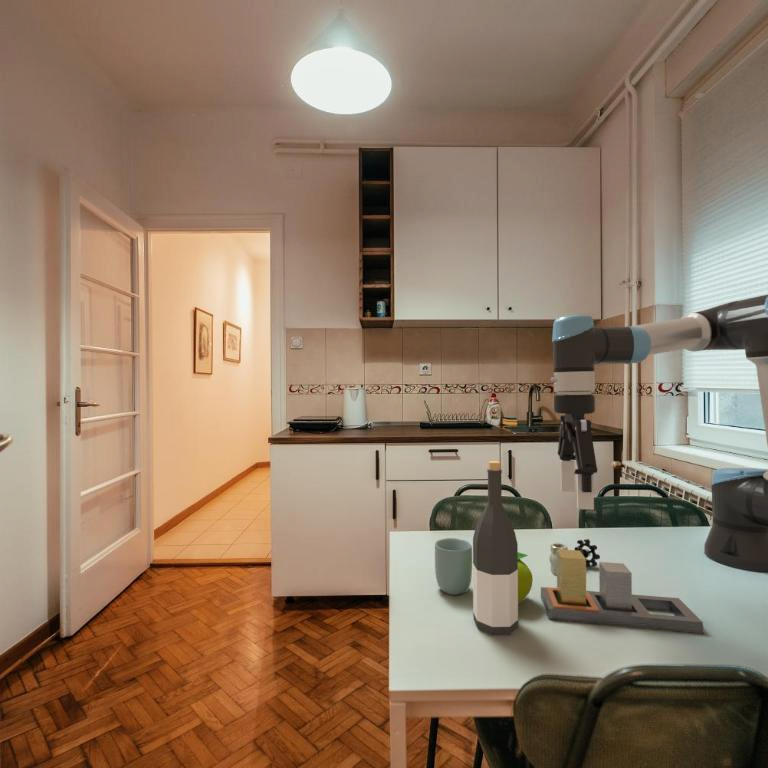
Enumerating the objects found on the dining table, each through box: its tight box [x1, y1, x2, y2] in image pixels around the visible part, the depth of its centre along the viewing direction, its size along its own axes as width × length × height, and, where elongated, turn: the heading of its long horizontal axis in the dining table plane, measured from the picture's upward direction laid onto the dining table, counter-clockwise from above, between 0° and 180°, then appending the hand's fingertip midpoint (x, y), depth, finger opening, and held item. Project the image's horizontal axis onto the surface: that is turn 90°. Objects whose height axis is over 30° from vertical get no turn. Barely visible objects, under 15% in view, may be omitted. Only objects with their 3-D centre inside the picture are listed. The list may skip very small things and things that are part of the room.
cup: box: [434, 537, 473, 596], centre depth 94 cm, size 8×8×10 cm
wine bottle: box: [472, 460, 519, 636], centre depth 80 cm, size 8×8×30 cm
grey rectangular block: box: [598, 561, 633, 612], centre depth 84 cm, size 4×4×9 cm
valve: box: [549, 538, 601, 577], centre depth 104 cm, size 7×7×12 cm
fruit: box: [518, 552, 533, 605], centre depth 89 cm, size 9×9×10 cm
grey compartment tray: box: [540, 586, 704, 634], centre depth 84 cm, size 26×9×2 cm, turn 79°
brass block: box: [556, 549, 587, 607], centre depth 85 cm, size 4×4×11 cm
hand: (576, 499), depth 87 cm, fingers open, 13 cm apart
